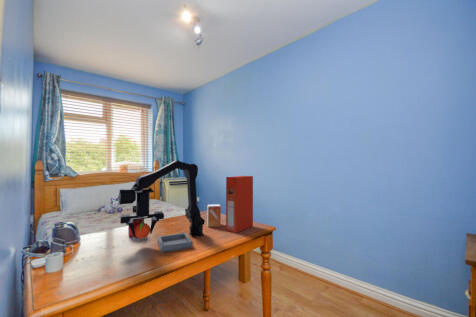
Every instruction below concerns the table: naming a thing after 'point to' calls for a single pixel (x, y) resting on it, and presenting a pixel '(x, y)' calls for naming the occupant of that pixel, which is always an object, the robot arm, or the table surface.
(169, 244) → the tray
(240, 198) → the file binder
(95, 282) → the table surface
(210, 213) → the small box
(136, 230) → the clementine
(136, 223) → the canned food
